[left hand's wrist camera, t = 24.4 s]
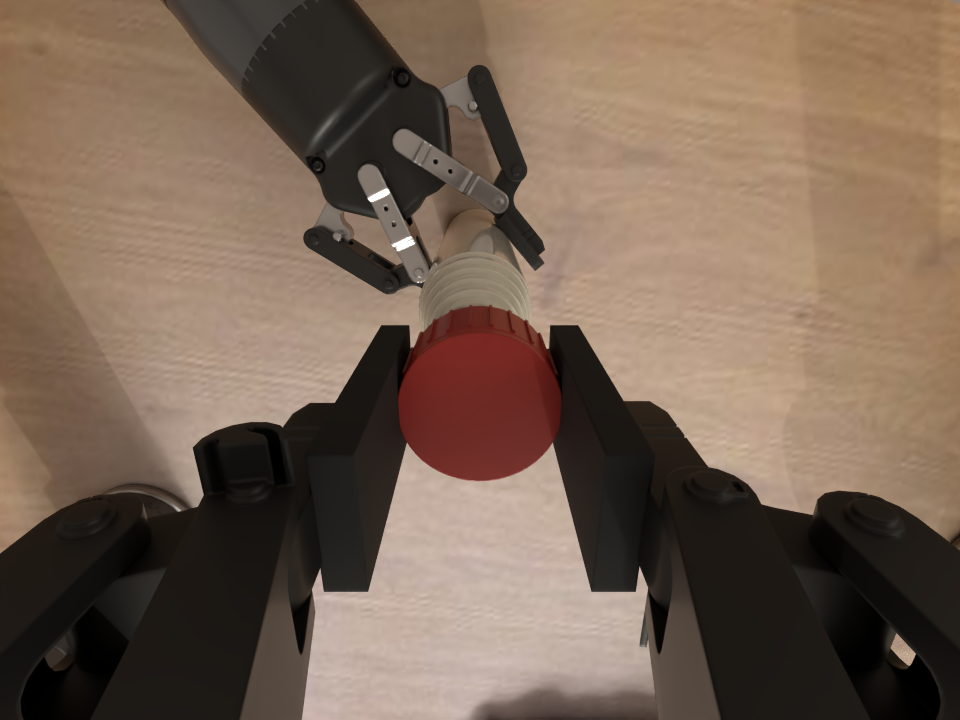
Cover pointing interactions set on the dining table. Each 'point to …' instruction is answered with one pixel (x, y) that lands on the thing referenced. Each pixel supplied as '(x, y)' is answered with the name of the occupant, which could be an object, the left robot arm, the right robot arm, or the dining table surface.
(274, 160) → the dining table surface
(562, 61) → the dining table surface
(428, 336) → the cap
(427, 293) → the bottle
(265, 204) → the dining table surface
